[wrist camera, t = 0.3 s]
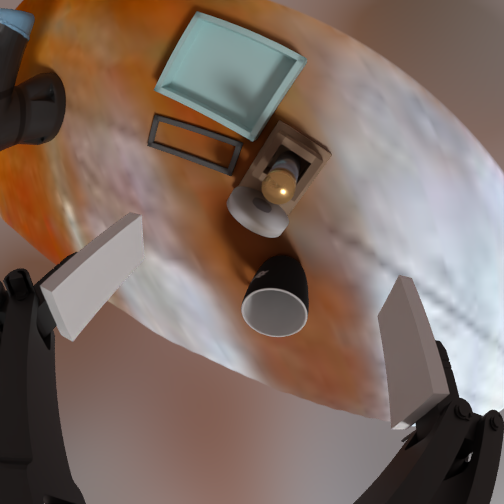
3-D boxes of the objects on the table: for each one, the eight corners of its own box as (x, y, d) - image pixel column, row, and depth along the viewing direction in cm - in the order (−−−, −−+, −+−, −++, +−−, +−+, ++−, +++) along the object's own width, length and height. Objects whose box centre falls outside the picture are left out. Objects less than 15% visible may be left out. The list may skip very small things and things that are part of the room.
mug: (272, 237, 41) (259, 276, 33) (321, 265, 42) (321, 309, 34) (239, 288, 48) (222, 330, 39) (283, 312, 49) (274, 355, 40)
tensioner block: (235, 191, 39) (215, 215, 31) (279, 120, 32) (269, 124, 25) (282, 220, 40) (274, 251, 32) (331, 153, 33) (337, 168, 26)
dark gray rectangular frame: (149, 145, 38) (147, 145, 37) (156, 114, 35) (154, 115, 34) (231, 175, 38) (230, 176, 37) (243, 143, 35) (242, 143, 35)
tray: (164, 90, 33) (153, 90, 30) (205, 16, 26) (196, 11, 24) (257, 138, 34) (252, 141, 32) (307, 62, 28) (306, 58, 25)
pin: (273, 164, 35) (255, 192, 25) (285, 146, 33) (272, 166, 23) (292, 177, 35) (283, 210, 25) (305, 159, 33) (301, 184, 23)
